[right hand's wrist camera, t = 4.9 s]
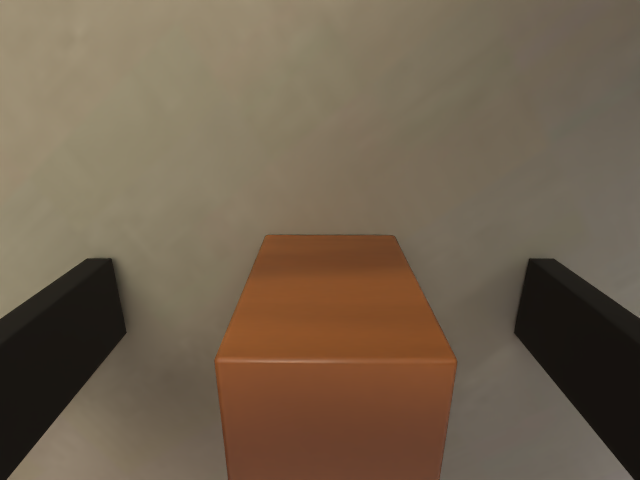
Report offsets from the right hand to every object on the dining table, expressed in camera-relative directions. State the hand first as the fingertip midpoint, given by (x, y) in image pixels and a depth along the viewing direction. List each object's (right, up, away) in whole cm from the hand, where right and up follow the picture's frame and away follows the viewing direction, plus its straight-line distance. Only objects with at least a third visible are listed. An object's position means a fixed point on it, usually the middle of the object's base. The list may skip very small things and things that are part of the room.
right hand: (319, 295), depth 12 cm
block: (0, 0, 0) cm, 0 cm away
